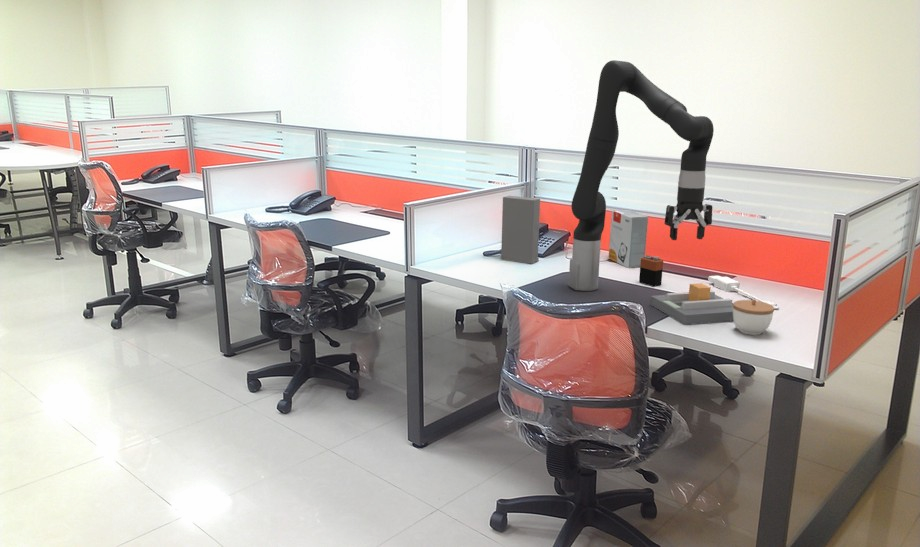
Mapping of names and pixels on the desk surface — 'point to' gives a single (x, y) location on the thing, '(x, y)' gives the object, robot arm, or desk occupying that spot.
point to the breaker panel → (693, 312)
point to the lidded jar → (752, 316)
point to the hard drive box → (627, 237)
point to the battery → (651, 270)
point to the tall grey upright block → (520, 229)
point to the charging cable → (733, 287)
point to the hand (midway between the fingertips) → (686, 239)
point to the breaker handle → (699, 292)
